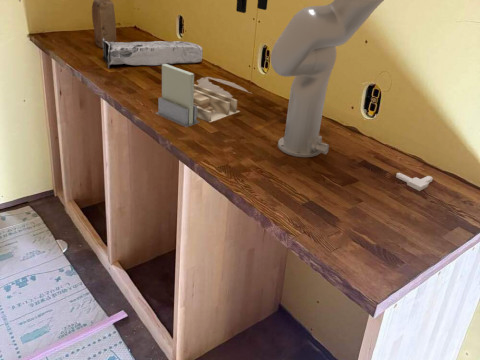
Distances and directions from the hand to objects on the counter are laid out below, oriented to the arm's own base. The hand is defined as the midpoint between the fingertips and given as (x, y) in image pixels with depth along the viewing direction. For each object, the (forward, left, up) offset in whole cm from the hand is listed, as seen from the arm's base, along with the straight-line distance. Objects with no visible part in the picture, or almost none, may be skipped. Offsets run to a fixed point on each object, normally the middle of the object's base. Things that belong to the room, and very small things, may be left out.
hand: (251, 10), depth 142 cm
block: (+92, -12, -32) cm, 98 cm away
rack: (+9, +10, -32) cm, 35 cm away
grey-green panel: (+8, +22, -31) cm, 39 cm away
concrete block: (+62, -13, -33) cm, 71 cm away
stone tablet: (+16, -9, -33) cm, 38 cm away
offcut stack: (+9, +13, -31) cm, 35 cm away
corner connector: (-59, +1, -33) cm, 68 cm away
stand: (+8, +22, -32) cm, 40 cm away
